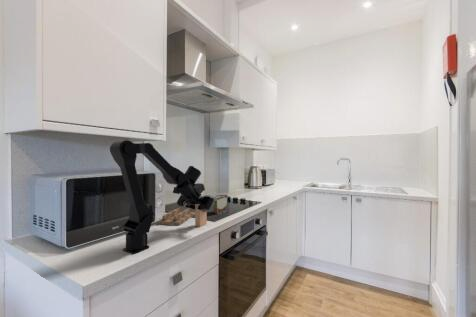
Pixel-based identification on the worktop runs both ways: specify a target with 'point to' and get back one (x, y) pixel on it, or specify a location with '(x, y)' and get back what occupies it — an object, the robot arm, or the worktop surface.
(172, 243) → the worktop surface
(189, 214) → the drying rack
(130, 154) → the robot arm
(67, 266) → the worktop surface
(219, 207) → the food container
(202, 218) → the clay strip
